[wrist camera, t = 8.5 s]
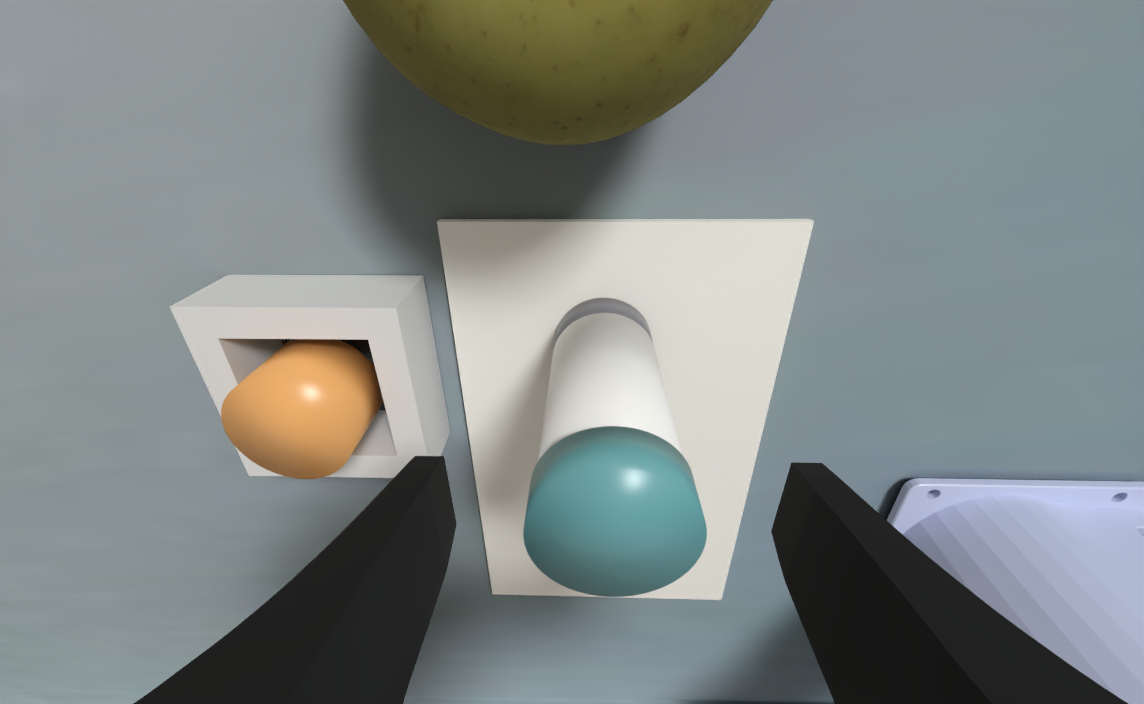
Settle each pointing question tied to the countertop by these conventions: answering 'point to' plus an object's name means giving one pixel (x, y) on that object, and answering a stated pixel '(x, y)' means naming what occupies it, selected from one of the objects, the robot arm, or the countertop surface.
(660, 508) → the marker
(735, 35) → the apple
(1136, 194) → the countertop surface
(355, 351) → the button
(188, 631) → the countertop surface
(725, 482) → the paper
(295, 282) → the button housing
